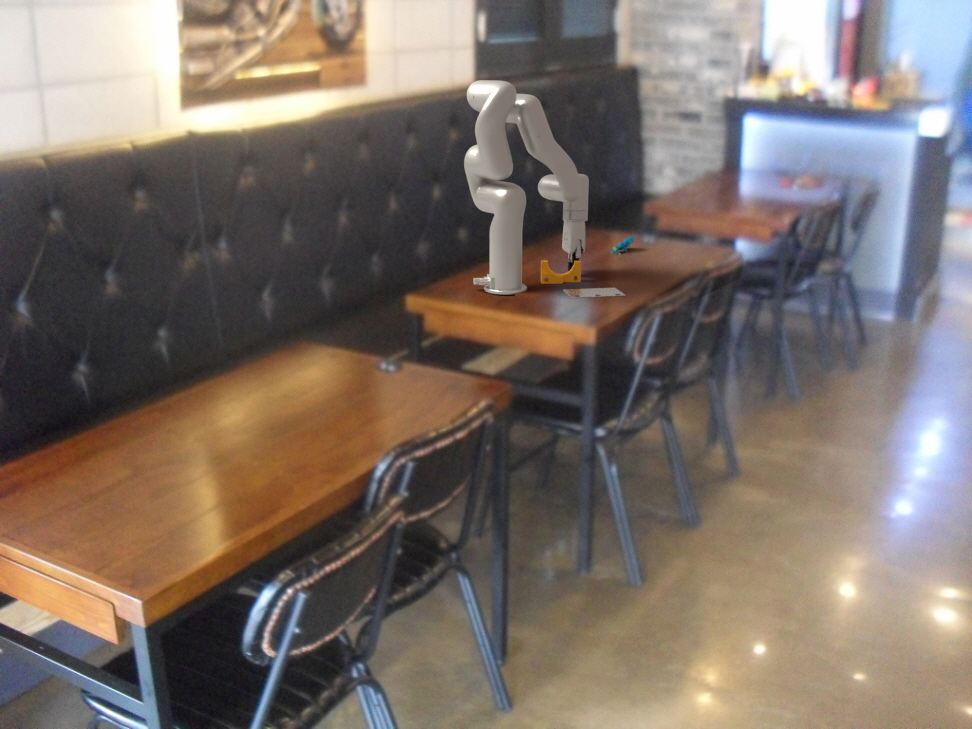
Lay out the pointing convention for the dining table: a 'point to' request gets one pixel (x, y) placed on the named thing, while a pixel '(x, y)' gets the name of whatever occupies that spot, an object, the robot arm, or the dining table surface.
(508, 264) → the robot arm
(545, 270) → the pipe clamp
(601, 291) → the door panel
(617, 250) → the gear
